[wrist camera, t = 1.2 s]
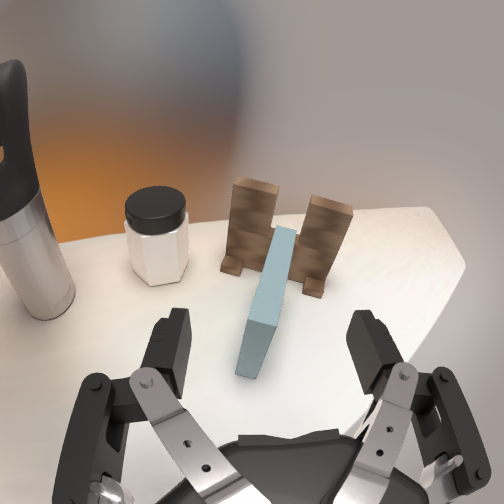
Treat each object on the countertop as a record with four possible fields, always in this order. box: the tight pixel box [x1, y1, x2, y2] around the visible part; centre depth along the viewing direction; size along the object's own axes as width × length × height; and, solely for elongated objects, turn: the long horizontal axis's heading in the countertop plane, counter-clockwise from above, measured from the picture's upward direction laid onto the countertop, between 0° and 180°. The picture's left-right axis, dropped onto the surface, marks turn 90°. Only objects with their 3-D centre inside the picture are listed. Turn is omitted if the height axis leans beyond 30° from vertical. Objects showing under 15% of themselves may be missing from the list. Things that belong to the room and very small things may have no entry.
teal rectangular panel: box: [235, 225, 297, 379], centre depth 32 cm, size 14×2×12 cm, turn 166°
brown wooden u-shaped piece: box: [220, 177, 353, 298], centre depth 40 cm, size 16×7×14 cm, turn 76°
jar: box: [124, 186, 189, 286], centre depth 38 cm, size 9×8×12 cm
